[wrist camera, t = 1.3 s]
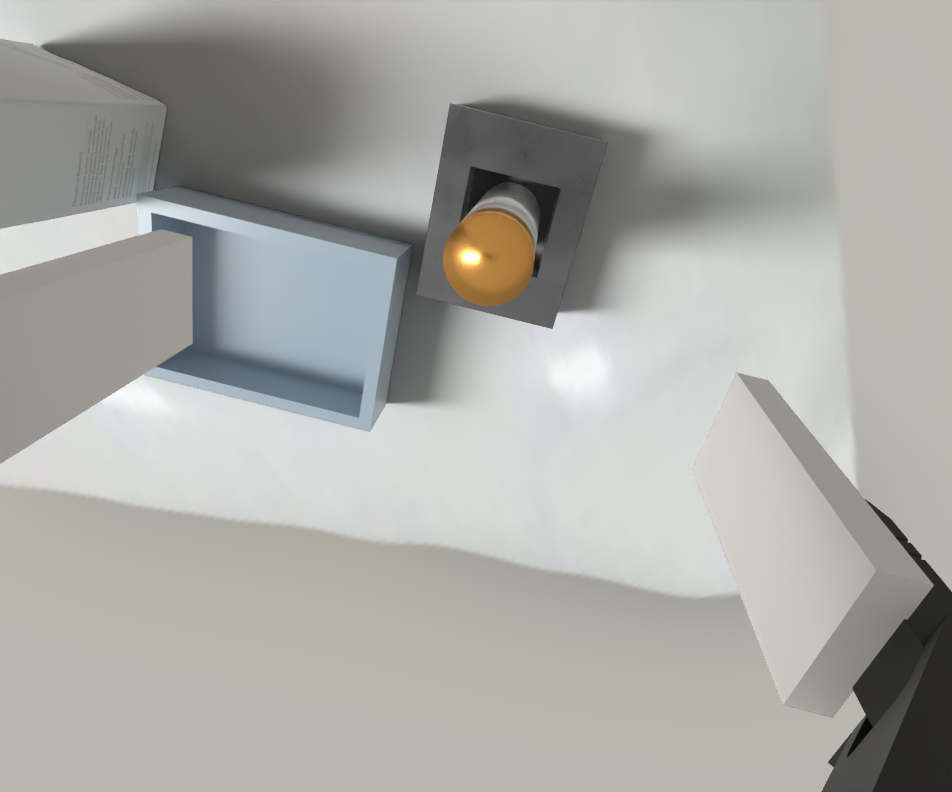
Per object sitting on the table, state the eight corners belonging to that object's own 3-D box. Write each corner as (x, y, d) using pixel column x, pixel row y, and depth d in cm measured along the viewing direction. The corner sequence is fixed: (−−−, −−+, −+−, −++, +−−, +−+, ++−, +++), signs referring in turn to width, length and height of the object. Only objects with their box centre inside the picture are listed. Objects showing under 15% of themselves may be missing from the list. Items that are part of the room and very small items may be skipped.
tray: (180, 352, 40) (144, 375, 37) (178, 185, 35) (136, 193, 32) (386, 403, 40) (369, 431, 37) (413, 244, 35) (397, 258, 32)
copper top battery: (471, 238, 35) (435, 294, 24) (485, 175, 33) (452, 204, 22) (530, 253, 35) (521, 315, 24) (547, 190, 33) (544, 227, 22)
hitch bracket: (426, 281, 36) (416, 294, 33) (458, 104, 32) (450, 103, 29) (552, 313, 36) (552, 328, 33) (602, 139, 32) (607, 142, 29)
